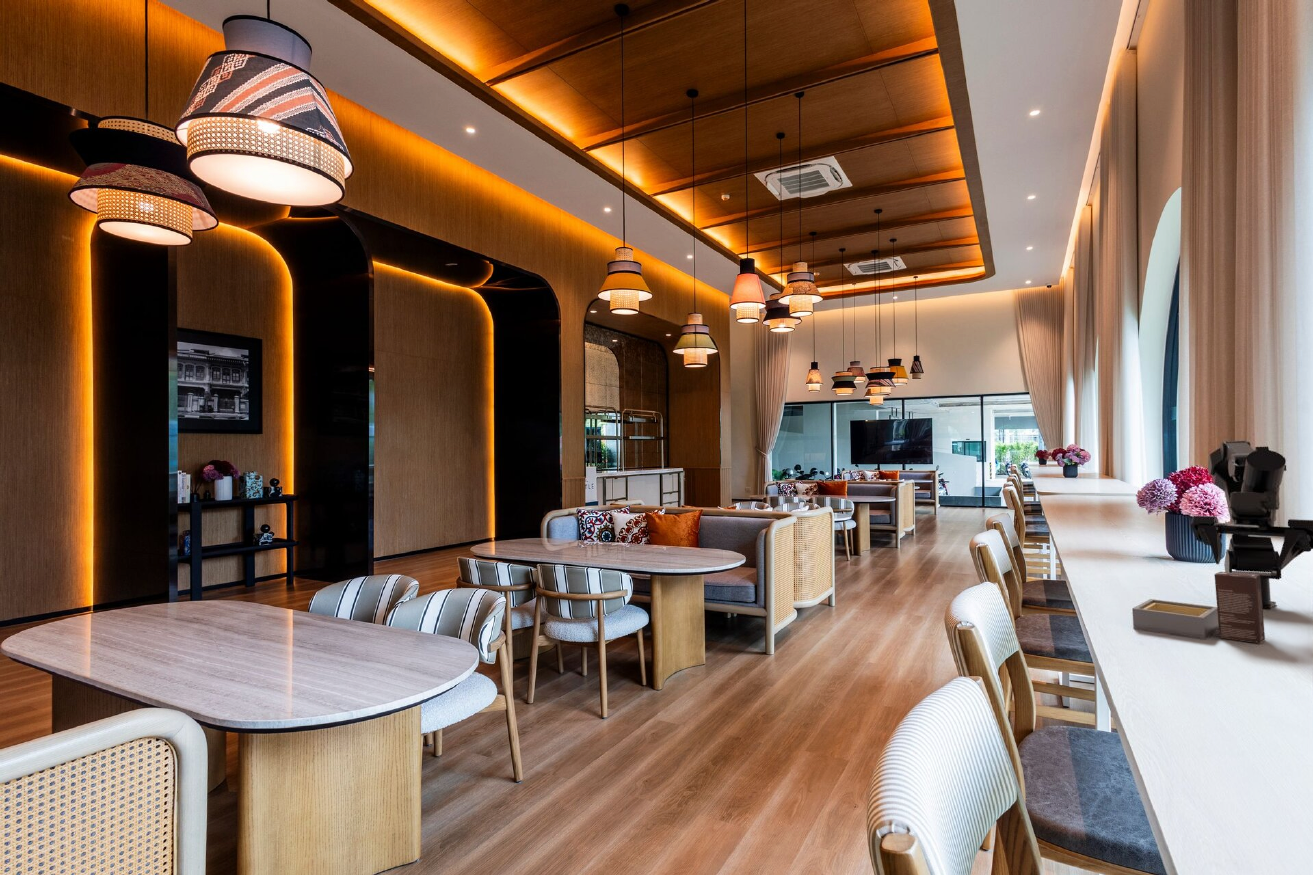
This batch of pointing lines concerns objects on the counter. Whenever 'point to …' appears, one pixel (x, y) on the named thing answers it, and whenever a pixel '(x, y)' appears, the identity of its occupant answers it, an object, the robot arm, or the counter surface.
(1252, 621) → the box
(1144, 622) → the tray
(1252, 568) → the robot arm
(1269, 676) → the counter surface
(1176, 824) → the counter surface
